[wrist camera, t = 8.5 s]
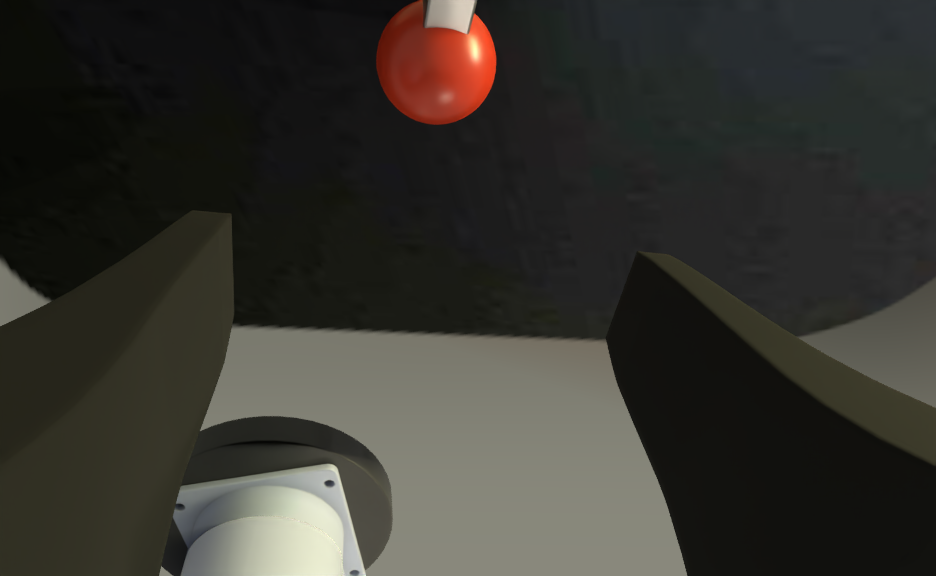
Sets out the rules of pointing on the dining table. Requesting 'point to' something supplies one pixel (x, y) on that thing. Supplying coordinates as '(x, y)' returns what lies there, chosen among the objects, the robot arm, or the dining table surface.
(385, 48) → the switch lever
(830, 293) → the dining table surface
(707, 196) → the dining table surface
